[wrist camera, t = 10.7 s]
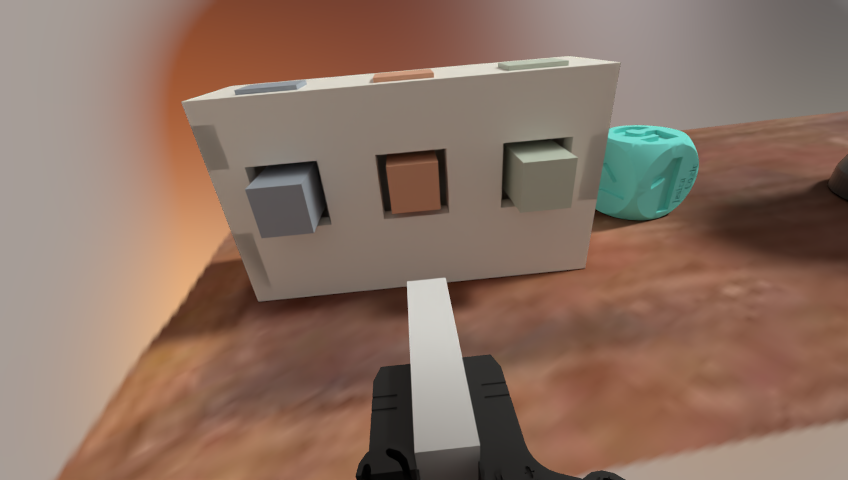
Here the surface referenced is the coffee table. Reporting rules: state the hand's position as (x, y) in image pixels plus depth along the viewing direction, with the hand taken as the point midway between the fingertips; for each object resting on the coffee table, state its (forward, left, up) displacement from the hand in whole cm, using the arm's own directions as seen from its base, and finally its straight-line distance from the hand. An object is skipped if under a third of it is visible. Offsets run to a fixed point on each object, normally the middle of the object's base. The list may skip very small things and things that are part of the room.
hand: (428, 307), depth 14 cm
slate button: (+16, -3, -2) cm, 17 cm away
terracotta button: (+11, -11, -2) cm, 16 cm away
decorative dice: (+1, -35, -9) cm, 36 cm away
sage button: (+3, -16, -2) cm, 17 cm away
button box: (+13, -13, -9) cm, 20 cm away
